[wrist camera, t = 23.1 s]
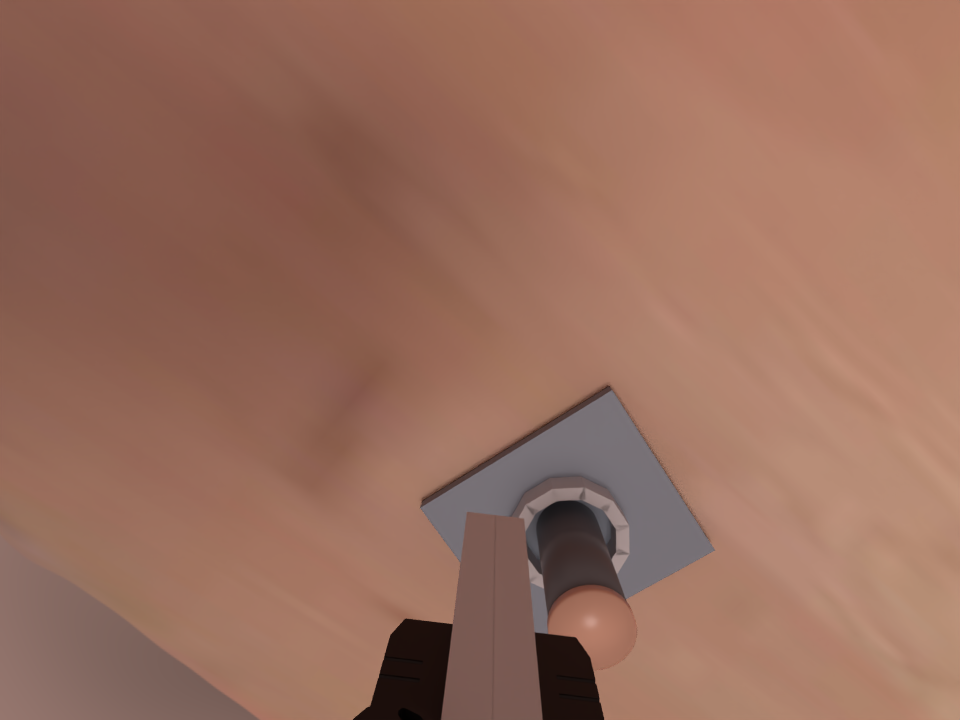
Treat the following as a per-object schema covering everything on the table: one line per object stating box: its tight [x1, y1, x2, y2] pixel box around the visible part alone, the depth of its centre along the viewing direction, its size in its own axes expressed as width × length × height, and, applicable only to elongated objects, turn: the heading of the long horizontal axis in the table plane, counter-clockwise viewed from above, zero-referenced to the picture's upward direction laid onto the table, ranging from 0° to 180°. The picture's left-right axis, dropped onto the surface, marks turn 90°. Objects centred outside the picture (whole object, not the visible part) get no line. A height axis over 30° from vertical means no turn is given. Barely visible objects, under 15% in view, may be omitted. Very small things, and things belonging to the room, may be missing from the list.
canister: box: [536, 500, 637, 670], centre depth 37 cm, size 5×5×12 cm
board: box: [420, 387, 715, 634], centre depth 43 cm, size 18×16×3 cm
